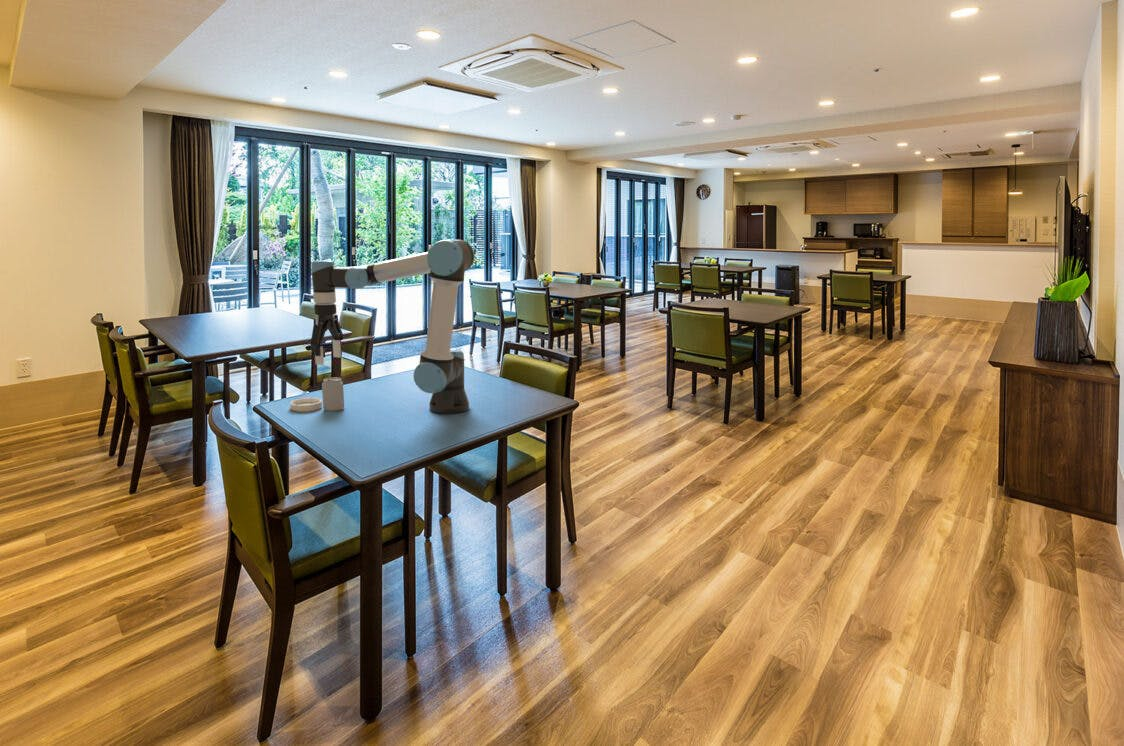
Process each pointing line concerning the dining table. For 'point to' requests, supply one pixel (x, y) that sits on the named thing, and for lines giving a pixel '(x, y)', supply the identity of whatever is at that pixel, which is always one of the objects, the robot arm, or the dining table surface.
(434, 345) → the robot arm
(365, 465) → the dining table surface
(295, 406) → the bowl
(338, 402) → the can
